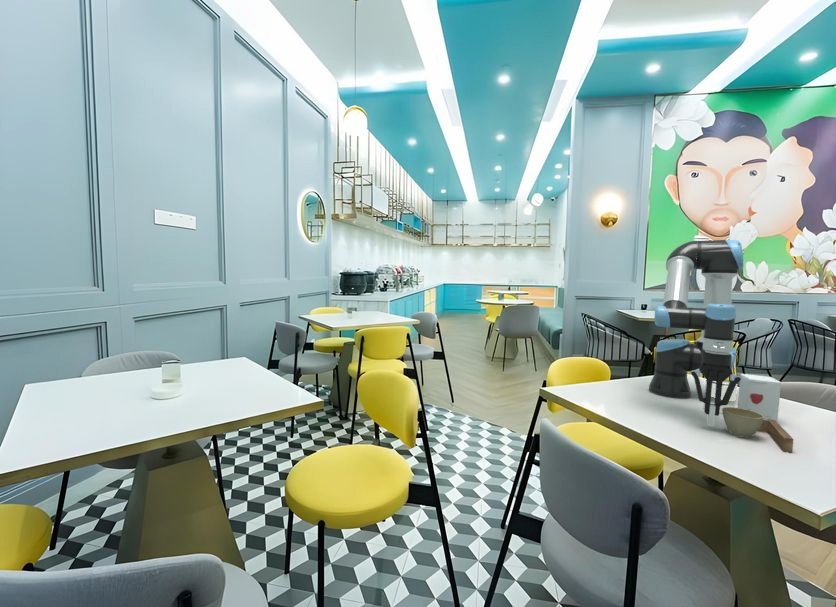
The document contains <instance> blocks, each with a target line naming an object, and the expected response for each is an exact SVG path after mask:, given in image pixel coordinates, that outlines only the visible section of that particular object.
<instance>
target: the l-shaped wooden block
mask: <svg viewBox="0 0 836 607" xmlns="http://www.w3.org/2000/svg"><path fill="white" fill-rule="evenodd" d="M757 432H760V433H764V434H768V435H769V436H770V438H771V439H772V440H773V442H775V444H776V445H777V447H779V448H780V450H781V451H782V452H784V453H788V454H789V453H790V454H793V449H794V448H793V447H794V438H793V437H792V436H791V435H790V434H789V433H788V432H787V430H785V428H783V427H782V425H781V424H780V423H778V420H777V421H776V420H771V419H763V422H762V424H761V426H760V428H759V429H758V431H757Z"/></svg>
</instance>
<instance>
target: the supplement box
mask: <svg viewBox="0 0 836 607" xmlns="http://www.w3.org/2000/svg"><path fill="white" fill-rule="evenodd" d="M739 377H740V379H741V380H740V381H739V386H738V387H739V388H738V398H737V407H736V408H742V409H747V410H751V411H754V412H757V413H760V414H762V415H763V416H764V419H771V420H776V421H777V422H778V419H779V410H780V409H779V408H780V396H781V388H782V382H781V381H780V380H777V379H776V378H774V377H772V376H765V375H757V374H746V373H740V376H739Z"/></svg>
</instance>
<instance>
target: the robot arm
mask: <svg viewBox="0 0 836 607" xmlns="http://www.w3.org/2000/svg"><path fill="white" fill-rule="evenodd" d="M665 269H666V271H667V276H666V282H665V290H664V296H663V302H662V305H657V306H656V307H655V308H654V324H655V326H656V327H663V328H671V329H672V328H673V329H685V330H688V329H689V330H698V331H700V332H701V334H700V337H698V338H697V339H696V342H695V343H691V342H690V340H689V339H681V338H679V339H677V338H673V339H671V338H669V339H662V340H659V341H657V343H656V348H655V352H656V353H655V362H654V363H655V365H654V375H653V377H652V379H651V381H650V383H649V385H648V391H649V392H650V393H652V394H654V395H655V394H656V395H658V396H662V397H667V398H673V399H690V398H691V397H692V390H691V386H690V384H689V380H688V372H689V373H690V375H691V376H692V377H693V379H694V382H695V383H694V384H695V389H696V393H697V394H696V395H697V398H698V401H699V402H701V403H704V411H703V412H704V414H705V415H707V423H706V424H707V425H708V426H709V427H714V426H715V417H719V416H720V408H721V407H722V406H724V407H727V405H728V404H729V402H730V399H731V397H732V394H733V393H734V391H735V388H736V385H738V383H740V380H741V379H740V376H738V375H736V374H734V373H733V368H734V366H735V362H736V355H737V348H736V347H733V344H734V343H733V342H734V332H735V324H736V317H737V313H736V310H737V309H736V306H735V305H733V304H731V300H732V290H733V289H732V288H733V279H734V278H735V277H736V276H738V274H739V271H742V270H743V269H744V252H743V246H742V243H741V241H739V240H736V239H717V240H711V239H710V240H692V241H687V242H685V243H683V244H681V245H678V246H677V247H676V248H675V249H673V251H672V252H671V253H670V254H669V255H668V257H667V258H666V262H665ZM693 270H701V272H700V273H701V276H703V277H704V278H705V280H704V281H705V282H704V295H703V307H702V308H701V307H688V303H689V292H690V291H689V290H690V283H691V282H690V281H691V273H692V271H693ZM701 375H702V376H703V377H704V379H706V384H705V385H706V386H705V397H704V395H703V390H702V385H701V380H700V378H699V377H700V376H701ZM727 379H729V380H730V381H729V383H728V385H727V388H726V390H725V393H724V395H723V396H722V393H723V392H722V390H723V383H724V382H725V381H726V380H727ZM713 382H715V393H714V403H711V401H712V390H713Z"/></svg>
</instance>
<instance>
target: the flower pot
mask: <svg viewBox="0 0 836 607" xmlns="http://www.w3.org/2000/svg"><path fill="white" fill-rule="evenodd" d="M721 409H722V410H721V411H722V416H723V420H724V424H725V425H726V427H727V429H728V431H729V433H730V434H731V435H734V436H737V437H739V438H747V439H749V438H752V437H753V436H754V435H755V434H756V433H757V432H759V431H758V429H759V428H760V426H761V424H762V422H763V419H764V416H763V415H762V414H760V413H757V412H754V411H751V410H747V409H742V408H737V407H734V406H733V407H732V406H731V407H730V406H724V407H723V408H721Z"/></svg>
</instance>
